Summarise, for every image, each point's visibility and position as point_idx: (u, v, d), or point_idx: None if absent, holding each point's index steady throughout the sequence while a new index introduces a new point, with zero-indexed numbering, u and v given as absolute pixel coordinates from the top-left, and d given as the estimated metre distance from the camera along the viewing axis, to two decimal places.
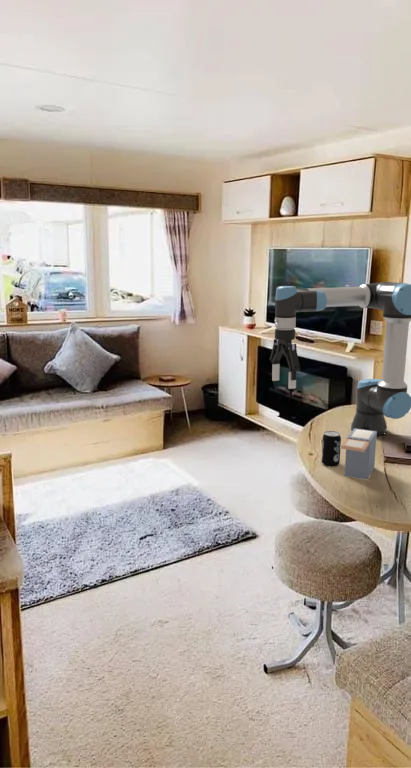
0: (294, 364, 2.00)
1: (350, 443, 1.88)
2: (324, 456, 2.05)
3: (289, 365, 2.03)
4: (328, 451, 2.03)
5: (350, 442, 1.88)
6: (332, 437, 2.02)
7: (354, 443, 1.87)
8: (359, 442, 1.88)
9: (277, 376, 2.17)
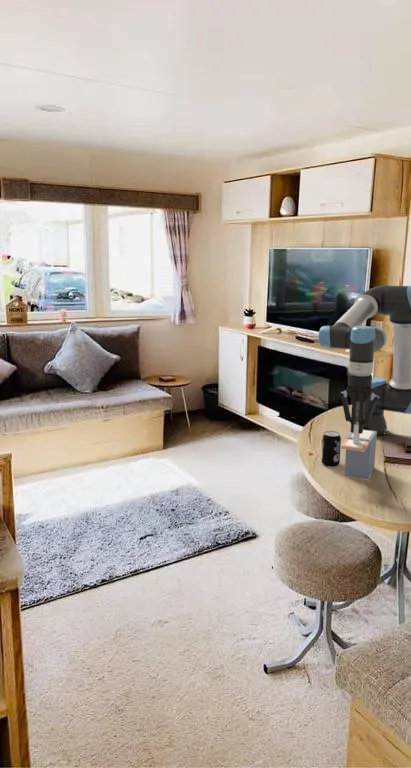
0: (369, 417, 1.84)
1: (350, 443, 1.88)
2: (324, 456, 2.05)
3: (361, 417, 1.84)
4: (328, 451, 2.03)
5: (350, 442, 1.88)
6: (332, 437, 2.02)
7: (354, 443, 1.87)
8: (359, 442, 1.88)
9: None
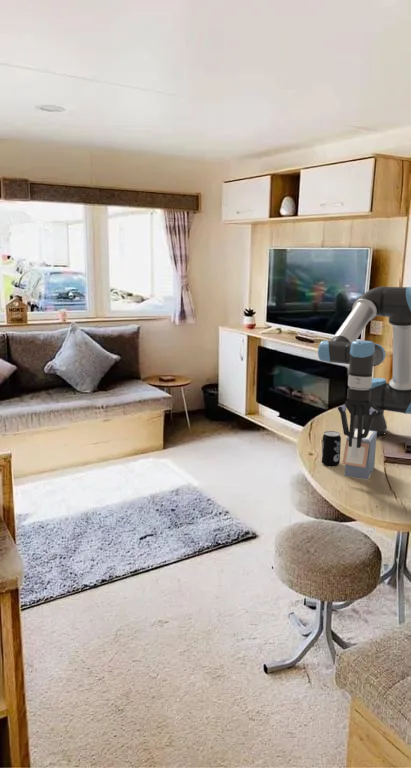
0: (368, 432, 1.84)
1: (350, 453, 1.90)
2: (324, 456, 2.05)
3: (359, 431, 1.84)
4: (328, 451, 2.03)
5: (350, 452, 1.90)
6: (332, 437, 2.02)
7: None
8: (359, 449, 1.89)
9: None
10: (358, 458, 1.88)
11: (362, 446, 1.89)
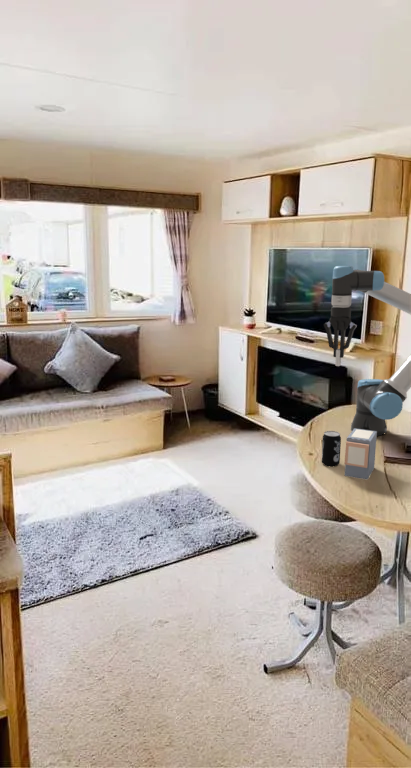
0: (349, 343, 2.19)
1: (351, 455, 1.92)
2: (324, 456, 2.05)
3: (341, 343, 2.20)
4: (328, 451, 2.03)
5: (351, 453, 1.92)
6: (332, 437, 2.02)
7: (355, 455, 1.91)
8: (359, 450, 1.90)
9: None
10: (359, 459, 1.91)
11: (362, 447, 1.89)
